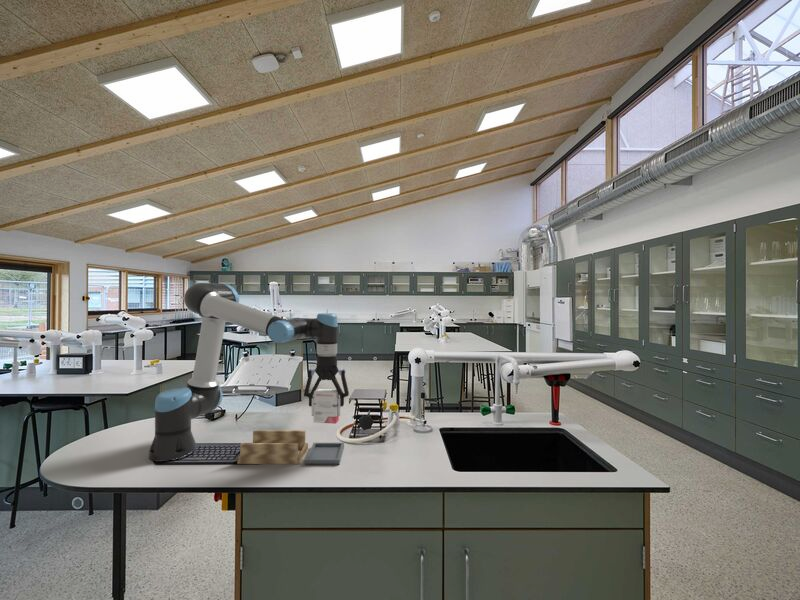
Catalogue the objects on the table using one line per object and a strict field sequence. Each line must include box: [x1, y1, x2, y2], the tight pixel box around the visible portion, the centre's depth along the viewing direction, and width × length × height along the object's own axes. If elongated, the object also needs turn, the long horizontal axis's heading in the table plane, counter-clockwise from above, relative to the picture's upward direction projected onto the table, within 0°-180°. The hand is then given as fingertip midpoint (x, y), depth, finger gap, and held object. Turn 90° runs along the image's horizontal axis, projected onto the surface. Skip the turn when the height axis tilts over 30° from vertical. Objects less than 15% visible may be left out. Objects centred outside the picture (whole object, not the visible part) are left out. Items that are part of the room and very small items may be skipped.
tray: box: [304, 442, 345, 466], centre depth 144 cm, size 12×16×2 cm
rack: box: [236, 429, 309, 465], centre depth 144 cm, size 22×14×7 cm, turn 92°
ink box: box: [313, 388, 340, 425], centre depth 144 cm, size 9×5×12 cm, turn 82°
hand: (326, 414), depth 144 cm, fingers closed on ink box, 9 cm apart
